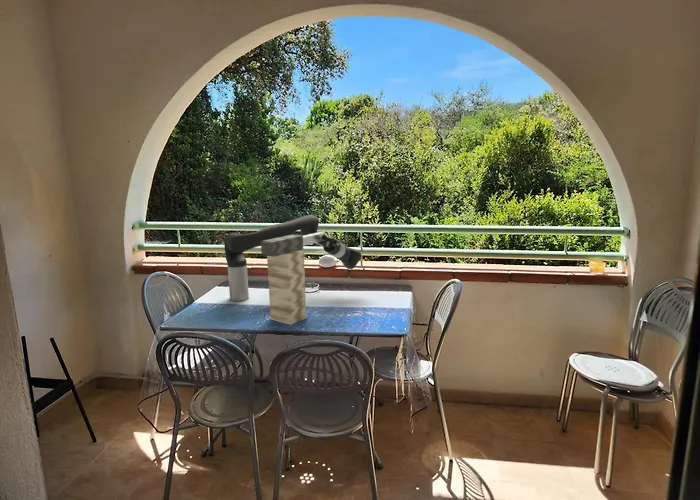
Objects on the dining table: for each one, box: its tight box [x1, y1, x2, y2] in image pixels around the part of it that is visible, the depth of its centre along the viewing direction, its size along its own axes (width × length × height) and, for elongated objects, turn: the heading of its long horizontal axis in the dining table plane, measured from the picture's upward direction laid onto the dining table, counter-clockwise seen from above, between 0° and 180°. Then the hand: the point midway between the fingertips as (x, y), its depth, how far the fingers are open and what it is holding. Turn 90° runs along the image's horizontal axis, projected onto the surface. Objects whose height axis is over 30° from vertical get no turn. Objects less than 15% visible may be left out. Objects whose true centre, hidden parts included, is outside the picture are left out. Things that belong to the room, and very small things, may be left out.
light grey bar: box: [302, 231, 326, 247], centre depth 202 cm, size 24×4×4 cm, turn 144°
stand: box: [260, 234, 307, 326], centre depth 193 cm, size 19×12×36 cm, turn 144°
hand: (315, 235), depth 207 cm, fingers open, 8 cm apart
